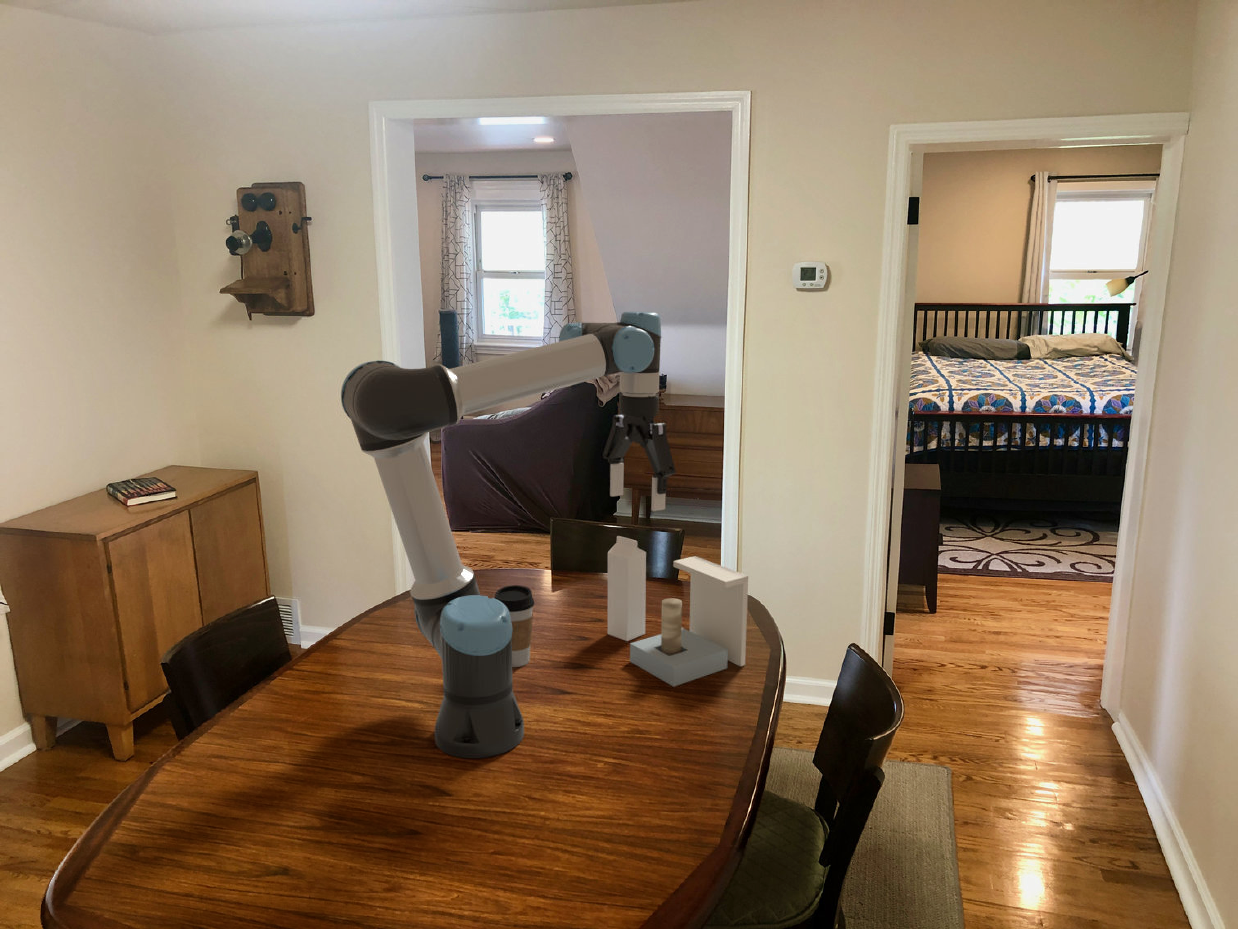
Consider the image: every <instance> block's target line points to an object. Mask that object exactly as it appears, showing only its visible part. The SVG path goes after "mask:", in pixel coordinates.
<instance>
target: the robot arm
mask: <svg viewBox="0 0 1238 929" xmlns="http://www.w3.org/2000/svg"><path fill="white" fill-rule="evenodd" d="M661 325H662V324H661V317H660V315H659V313H657V312H653V311H624V312H622V313H621V314H620V320H619V322H581V321H579V322H569V323H566V324H564V325H563V326H562V327H561V329H560V331H559V335H558V341H557V342H552V343H549V344H544V345H540V346H536V347H533V348H529V349H524V350H521V351H517V352H513V353H508V354H504V355H501V356H496V357H492V358H489V359H484V360H480V361H477V362H472V363H469V364H464V365H460V366H457V367H451V368H447V367H446V366H444V365H443V364H437V365H434V366H428V367H422V368H421V367H420V368H403V367H401V366H399V365H398V364H396V363H394V362H391V361H389V360H371V361H366V362H364V363H361V364H359V365H356V367H354V368H353V369H352V370H351V371H350V372H349V373H348V374H347V375H346V377H345V379H344V381H343V384H342V385H341V391H340V400H341V406H342V409H343V411H344V412H345V414H346V416H347V417H348V418H349V419H350V421H351V424H352V426H353V429H354V432H355V435H356V438H357V441H358V444H359V446H360V450H361V452H362V453H364V454H367V455H368V456H371V457H373V459H374V462H375V465H376V468H377V470H378V474H379V477H380V479H381V483H382V486H383V489H384V491H385V495H386V497H387V498H386V499H387V501H388V502H389V503H388V504H389V506H390V510H391V512H392V515H393V518H394V521H395V524H396V528H397V531H398V532H399V533H398V534H399V536H400V538H401V542H402V546H403V548H404V552H405V553H406V557H407V559H408V563H409V567H410V570H411V572H412V575H413V578H414V582H413V584H412V585H411V588H410V589H409V590H410V591H409V593H410V597H411V600H412V602H413V606H414V616H415V617H414V618H415V621H416V624H417V625H416V626H417V627H418V629H419V631H420V632H421V634H422V635H423V636H424V638H426V640H428V641H429V642H428V643H430V644H431V646H432V648H433V649H434V650H435V651H436V654H438V656H439V657H440V659H441V666H442V684H443V686H442V687H443V688H442V689H443V698H442V701H441V705H440V707H439V710H438V714H437V718H436V721H435V723H434V724H435V725H434V742H435V745H436V746H437V748H438V749H440V750H441V752H442V753H445V754H447V755H450V756H453V757H457V758H463V759H482V758H489V757H494V756H497V755H501V754H504V753H506V752H509V751H510V750H512V749H514V748H515V747H517V746H518V745H519V744H520V742H522V740H523V739H524V736H525V722H524V717H523V714H522V712H521V710H520V706H519V704H518V702H517V699H516V696H515V694H514V691H513V690H514V687H513V667H512V630H513V629H512V623H511V617H510V612H509V610H508V608H507V607H506V606H505V605H504V604H503V603H502V602H500V601H499V600H497V599H495V597H491V598H489V596H487V595H481V592H480V589H479V585H478V582H477V580H476V576H475V574H474V570H473V569H472V568H470V567H469V566H466V565H464V564H463V563H462V559H461V557H460V553H459V551H458V548H457V544H456V542H455V538H454V536H453V532H452V529H451V526H450V523H449V520H448V517H447V513H446V509H445V507H444V504H443V500H442V498H441V497H442V496H441V494H440V491H439V488H438V485H437V482H436V479H435V476H434V472H433V469H432V466H431V463H430V462H431V461H430V460H429V456H428V454H427V450H426V448H425V443H424V441H425V439H426V437H427V436H428V434H429V433H430V432H433V431H437V430H440V429H444V428H447V427H451V426H455V425H457V424H459V422H460V420H461V418H462V417H463V416H465V415H468V414H469V415H470V414H472V413H473V414H474V413H476V412H480V411H483V410H487V409H491V408H494V407H498V406H501V405H505V404H509V403H512V402H516V401H520V400H524V399H526V398H531V397H534V396H538V395H541V394H545V393H548V392H551V391H556V390H559V389H563V388H566V387H570V386H574V385H578V384H581V383H585V382H589V381H592V380H597V379H599V378H602V377H608V376H612V375H615V374H619V388H618V389H619V392H621V393H622V394H620V395H619V404H618V405H619V410H618V411H619V414H614V415H613V417H612V424H611V425H612V426H611V428H610V431H609V435H608V438H607V440H606V444H605V448H604V450H603V452H602V457H603V459H607V462H608V463H609V478H610V480H609V482H610V483H609V484H610V486H609V496H610V497H618V496H619V497H620V496H624V479H625V478H624V477H625V476H624V474H625V472H624V471H625V470H624V469H625V467H624V466H625V463H624V457H625V455H626V453H627V451H628V450H629V448H630V447H631V445H632V444H633V442H634V443H636V444H637V445H639V446H640V447H641V448H643V449H644V452H645V454H646V456H647V457H646V458H648V461H649V464H650V466H651V469H652V471H653V473H654V474H653V475H652V476H651V477H652V478H651V480H652V481H651V508H650V510H651V511H652V512H657V511H663V510H664V511H665V510H666V496H667V495H666V494H667V492H668V477H669V476H673V475H675V474H676V473H677V471H676V467H675V463H674V459H673V455H672V452H671V448H670V445H669V440H668V437H667V425H666V423H664V422H660V423H656V422H655V416H657V415H658V414H659V409H660V408H659V407H660V406H659V405H660V397H659V395H658V394H657V393H659V392H660V369H661V368H660V365H661V364H660V363H661V344H662V343H661V340H662V327H661Z"/></svg>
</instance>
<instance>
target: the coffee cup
mask: <svg viewBox="0 0 1238 929" xmlns="http://www.w3.org/2000/svg"><path fill="white" fill-rule="evenodd" d="M494 599H497V600H499V601H500V602H502V603H503V604H504V605H505V606H506V607H507V608H508V610H509V612H510V617H511V623H512V629H513V630H512V668H518V667H519V668H520V667H524V666H525V665H527V664H528V663H529V662H530V659H531V644H532V643H531V642H532V631H533V618H534V613H533V607H534V606H535V599H534V598H533V593H532V590H531V589H530V588H529V587H528V586H524V585H521V584H520V585H517V584H516V585H515V584H514V585H512V584H511V585H506V586H503V587H501V588H499V589H498V590H497V591H496V592H495V594H494Z"/></svg>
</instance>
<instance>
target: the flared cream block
mask: <svg viewBox="0 0 1238 929" xmlns="http://www.w3.org/2000/svg"><path fill="white" fill-rule="evenodd" d="M673 568H675V569H678V570H681V571H683V572H686V573H688V574H690V587H689V588H690V589H689V590H690V592H689V594H690V595H689V601H690V602H689V631H690V632H692V633H694V634H696V635H699V636H701V637H703V638H705V639H707V640H709V641H711V642H713V643H715V644H717V645H719V646H721V647H723V648H725V649H727V650H728V660H727V661H729V662H730V663H733V664H735V665H737V666H738V667H743V666H746V652H747V651H746V650H747V645H746V644H747V624H748V623H747V620H748V618H747V617H748V595H749V594H748V590H749V589H748V588H749V576H748V575H746V574H743V573H741V572H738V571H736V570H734V569H730V568H728V567H726V566H723V565H720V564H719V563H718V564H717V563H715V562H712V561H709V560H707V559H704V558H702V557H699V556H696V555H693V556H689V557H684V558H682V559H676V560H673Z"/></svg>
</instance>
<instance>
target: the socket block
mask: <svg viewBox="0 0 1238 929" xmlns="http://www.w3.org/2000/svg"><path fill="white" fill-rule="evenodd" d="M728 661H729V660H728V650H727V649H725V648H723V647H721V646H719V645H717V644H715V643H713V642H711V641H709V640H707V639H705V638H703V637H701V636H699V635H696V634H694V633H692V632H690V630H688V629H686V628H684V627H682V629H681V653H678V654H674V655H671V656H668V655H666V654H664V653H662V652H661V633H660V634H657V635H653V636H651V637H647V638H644V639H641V640H637V641H636V640H635V641H634V642H630V643H629V662H630V663H632V664H634V665H636V666H637V667H639V668H640V669H642V670H644V671H646V672H648V673H649V674H651V675H652V676H654V677H656V678H658V679H660V680H661V681H663V682H664V683H666V684H668V685H670V686H672V687H677V686H679V685H682V684H685V683H688V682H691V681H694V680H696V679H700V678H703V677H706V676H709V675H711V674H715V673H717V672H720V671H724V670H726V669H728Z"/></svg>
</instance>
